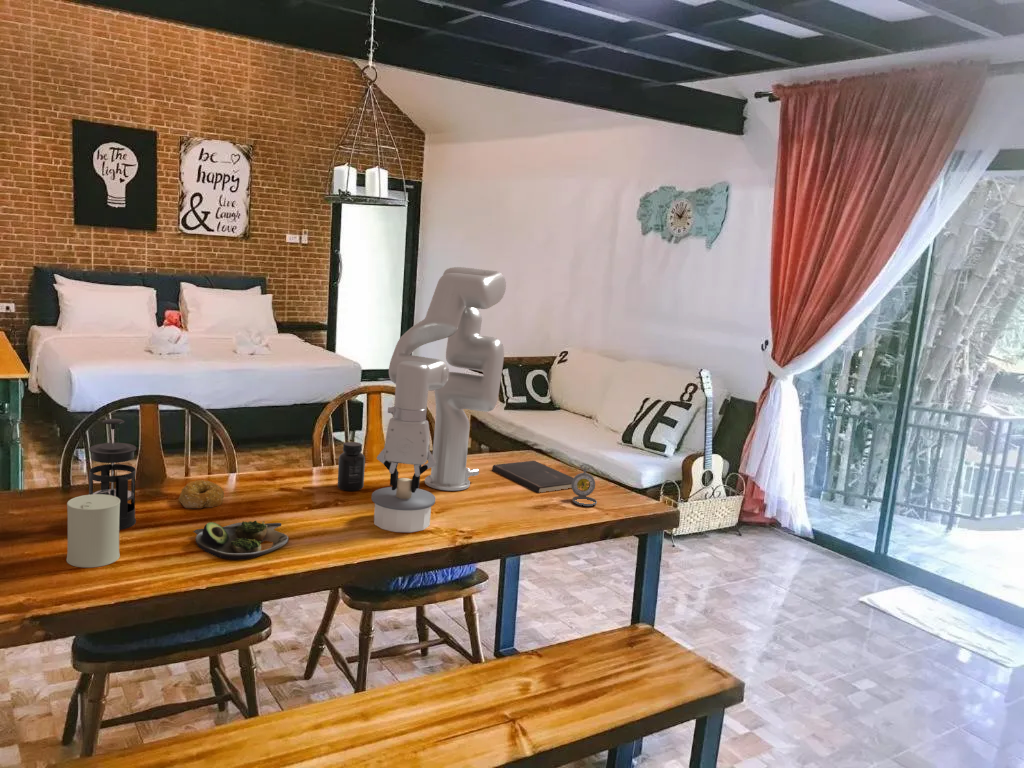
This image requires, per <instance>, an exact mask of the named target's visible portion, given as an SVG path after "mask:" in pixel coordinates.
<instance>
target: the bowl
mask: <svg viewBox="0 0 1024 768" xmlns="http://www.w3.org/2000/svg"><path fill="white" fill-rule="evenodd" d="M373 511H374V514H373V522H374V523H373V524H374V525H375V526H377V527H378V528H380V529H382V530H385V531H389V532H392V533H393V532H394V533H415V532H419V531H424V530H426V529H427V528H428V527H430V526H431V515H432V514H431V513H432V506H431V507H429V508H426V509H421V510H394V509H389V508H385V507H382V506H379V505H377V504H375V503H374V510H373Z"/></svg>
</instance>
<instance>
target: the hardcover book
mask: <svg viewBox="0 0 1024 768" xmlns="http://www.w3.org/2000/svg"><path fill="white" fill-rule="evenodd" d="M491 470H492V471H493V472H495V473H496V474H498V475H501V476H503V477H505V478H507V479H509V480H511V481H513V482H515V483H517V484H518V485H521V486H523V487H525V488H527V489H529V490H531V491H533V492H535V493H537V494H540V492H541V493H546V491H549V492H556V491H562V490H561V489H564V490H569V489H568V488H572V487H571V484H572V480H573V478H574V476H570V475H568V474H566V473H564V472H561V471H559V470H556V469H554V468H553V467H551V466H547V465H545V464H543V463H540V462H538V461H536V460H528V461H518V462H516V461H515V462H509V463H499V464H493V465H492V468H491ZM578 487H579V486H578ZM555 490H556V491H555Z"/></svg>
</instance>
